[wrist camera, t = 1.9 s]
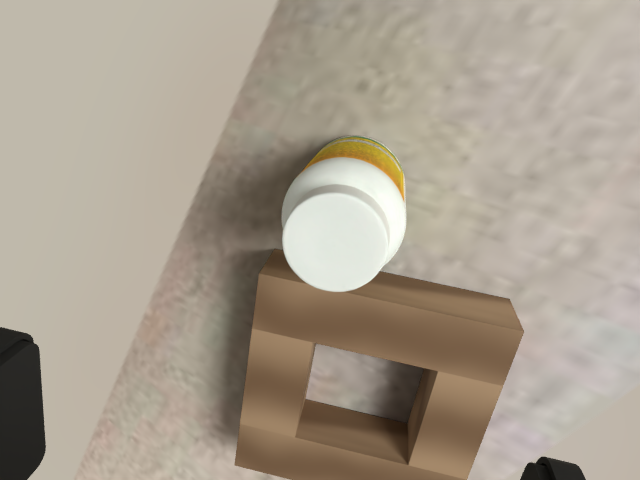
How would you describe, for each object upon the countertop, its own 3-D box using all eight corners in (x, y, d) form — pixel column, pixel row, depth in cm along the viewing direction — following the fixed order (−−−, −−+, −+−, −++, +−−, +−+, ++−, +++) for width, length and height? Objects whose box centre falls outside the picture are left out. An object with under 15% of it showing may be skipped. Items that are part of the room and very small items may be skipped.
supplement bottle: (407, 224, 27) (412, 308, 18) (314, 230, 28) (275, 313, 19) (401, 127, 25) (402, 168, 16) (302, 138, 26) (252, 182, 17)
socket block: (274, 248, 29) (259, 273, 26) (509, 299, 28) (524, 331, 24) (250, 426, 34) (234, 465, 31) (445, 474, 33) (451, 520, 30)
